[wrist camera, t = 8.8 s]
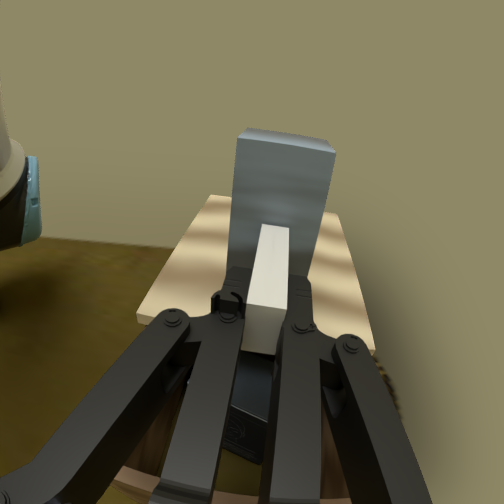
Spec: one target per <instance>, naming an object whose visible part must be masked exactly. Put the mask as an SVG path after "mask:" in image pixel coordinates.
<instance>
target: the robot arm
mask: <svg viewBox="0 0 504 504" xmlns="http://www.w3.org/2000/svg"><path fill="white" fill-rule="evenodd" d="M41 232H42V221H41V208H40V193H39V168H38V158H37V157H35V156H27V157H26V158H25V154H24V151H23V148H22V146H21V145H20V144H19V143H18V142H16V141H15V140H12V139H9V134H8V129H7V124H6V118H5V111H4V105H3V97H2V89H1V79H0V251H3V250H7V249H10V248H14V247H21V246H22V245H23V244H26V243H29V242H32V241H34V240H36V239H38V238H39V236H40V235H41ZM288 257H289V228H286V227H279V226H273V225H267V224H262V227H261V232H260V237H259V242H258V247H257V252H256V257H255V262H254V267H253V269H250V268H243V267H237V266H233V267H231V268H230V269H229V270H228V271H227V273H226V276H225V280H224V282H223V286H222V288H221V290H219V291H217V292H215V293H214V294H213V295H212V297H211V312H210V313H209V314H207V315H204V316H199V317H189V316H188V314H187V313H186V312H185V311H183V310H181V309H177V308H168V309H165V310H163V311H161V312H160V313H159V314H158V315H157V316H156V317H155V318H154V319H153V320H152V321H151V322H150V323H149V325H148V326H147V327H146V328H145V329H144V330H143V331H142V332H141V333H140V335H139V336H138V337H137V338H136V339H135V340H134V341H133V342H132V344H131V345H130V346H129V347H128V348H127V349H126V350H125V351H124V353H123V354H122V355H121V356H120V357H119V358H118V359H117V360H116V362H115V363H114V364H113V365H112V366H111V367H110V368H109V370H108V371H107V372H106V373H105V374H104V375H103V376H102V378H101V379H100V380H99V381H98V382H97V383H96V385H95V386H94V387H93V388H92V389H91V390H90V392H89V393H88V394H87V395H86V396H85V397H84V399H83V400H82V401H81V402H80V403H79V404H78V406H77V407H76V408H75V409H74V410H73V412H72V413H71V414H70V415H69V416H68V418H67V419H66V420H65V421H64V422H63V423H62V425H61V426H60V427H59V428H58V430H57V431H56V432H55V433H54V434H53V436H52V437H51V438H50V439H49V440H48V442H47V443H46V444H45V445H44V447H43V448H42V449H41V450H40V452H39V453H38V454H37V455H36V456H35V458H34V459H33V460H32V461H31V462H30V463H28V464H27V465H25V466H23V467H21V468H19V469H17V470H15V471H13V472H11V473H9V474H7V475H5V476H3V477H1V478H0V504H96V503H97V501H98V500H99V499H100V498H101V496H102V495H103V494H104V492H105V491H106V489H107V488H108V487H109V485H110V484H111V482H112V481H113V479H114V478H115V477H116V475H117V474H118V472H119V471H120V469H121V468H122V467H123V465H124V464H125V462H126V461H127V459H128V458H129V457H130V455H131V454H132V452H133V451H134V449H135V448H136V446H137V445H138V444H139V442H140V441H141V439H142V438H143V436H144V435H145V433H146V432H147V431H148V429H149V428H150V426H151V425H152V423H153V422H154V420H155V419H156V417H157V416H158V415H159V413H160V412H161V410H162V409H163V407H164V406H165V404H166V403H167V401H168V400H169V398H170V397H171V395H172V394H173V392H174V391H175V390H176V388H177V387H178V385H179V384H180V382H181V381H182V379H183V378H184V376H185V375H186V373H187V372H188V370H189V369H190V367H191V365H194V367H193V370H192V374H191V377H190V380H189V383H188V387H187V390H186V393H185V396H184V400H183V403H182V406H181V409H180V413H179V416H178V419H177V423H176V426H175V429H174V433H173V436H172V440H171V443H170V446H169V450H168V453H167V457H166V460H165V464H164V467H163V471H162V474H161V478H160V481H159V483H158V485H157V486H156V487H155V488H154V490H153V492H152V494H151V496H150V499H149V503H148V504H211V503H212V498H213V493H214V488H215V483H216V478H217V473H218V468H219V463H220V458H221V453H222V447H223V442H224V437H225V432H226V427H227V422H228V416H229V411H230V406H231V401H232V395H233V390H234V385H235V380H236V374H237V369H238V364H239V358H240V351H241V350H244V351H251V352H257V353H264V354H271V355H275V353H276V357H275V361H274V365H273V368H272V372H271V375H272V385H271V395H270V405H269V414H268V423H267V432H266V441H265V450H264V458H263V466H262V474H261V482H260V489H259V497H258V504H320V478H321V399H322V403H323V406H324V409H325V413H326V416H327V419H328V423H329V426H330V429H331V433H332V436H333V440H334V443H335V446H336V450H337V453H338V457H339V460H340V464H341V467H342V471H343V474H344V478H345V481H346V485H347V489H348V492H349V496H350V499H351V503H352V504H432V501H431V498H430V495H429V492H428V489H427V486H426V484H425V481H424V478H423V475H422V473H421V470H420V467H419V465H418V462H417V459H416V457H415V454H414V452H413V449H412V447H411V444H410V442H409V439H408V437H407V434H406V432H405V429H404V427H403V425H402V422H401V420H400V418H399V415H398V413H397V411H396V408H395V406H394V404H393V401H392V399H391V397H390V395H389V392H388V390H387V388H386V386H385V383H384V381H383V379H382V377H381V375H380V372H379V370H378V368H377V366H376V364H375V362H374V360H373V358H372V355H371V353H370V351H369V349H368V347H367V345H366V343H365V342H364V341H363V340H362V339H361V338H360V337H358V336H356V335H353V334H343V335H340V336H339V337H338V338H337V339H336V338H333V337H330V336H328V335H326V334H324V333H322V332H321V331H319V330H318V328H317V325H316V324H315V323H314V320H313V304H312V293H311V292H312V289H311V283H310V281H309V280H308V278H307V277H306V276H300V275H293V274H288Z"/></svg>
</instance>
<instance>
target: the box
mask: <svg viewBox="0 0 504 504" xmlns="http://www.w3.org/2000/svg"><path fill="white" fill-rule="evenodd" d="M273 365H274V362H271V361H269V360H267V359H264V358H262V357H260V356H258V355H255V354H253V353H251V352H249V351H244V350H241V351H240V358H239V364H238V369H237V374H236V380H235V385H234V390H233V395H232V401H231V406H230V411H229V416H228V422H227V427H226V432H225V437H224V442H223V448H225V449H227V450H229V451H230V452H232V453H235V454H237V455H239V456H241V457H243V458H245V459H247V460H249V461H251V462H254V463H256V464H259V465H260V464H261V463H262V461H263V458H264V450H265V441H266V432H267V423H268V414H269V405H270V395H271V385H272V375H271V372H272V368H273ZM189 380H190V379H189ZM189 380H188V381H187V386H188V383H189Z"/></svg>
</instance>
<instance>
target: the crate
mask: <svg viewBox="0 0 504 504" xmlns="http://www.w3.org/2000/svg"><path fill="white" fill-rule="evenodd" d="M147 326H148V325H146V326H145V328H146V327H147ZM145 328H144V329H145ZM249 352H251V351H249ZM251 353H253V354H255V355H258V356H260V357H262V358H264V359H267V360H269V361H271V362H274V361H275V357H276V353H275V355H271V354H264V353H257V352H251ZM188 371H189V370H188ZM187 374H188V372H187V373H186V375H185V376H184V378H183V379H182V381H181V382H180V384H179V385H178V387H177V388H176V390H175V391H174V392H173V394H172V395H171V397H170V398H169V400H168V401H167V403H166V404H165V406H164V407H163V409H162V410H161V412H160V413H159V415H158V416H157V417H156V419H155V420H154V422H153V423H152V425H151V426H150V428H149V429H148V431H147V432H146V433H145V435H144V436H143V438H142V439H141V441H140V442H139V444H138V445H137V446H136V448H135V449H134V451H133V452H132V454H131V455H130V457H129V458H128V459H127V461H126V462H125V464H124V465H123V467H122V468H121V469H120V471H119V472H118V474H117V475H116V477H115V478H114V479H113V481H112V482H111V484H110V485H111V486H112V487H114V488H115V489H117V490H118V491H120V492H121V493H123V494H125V495H126V496H128V497H130V498H131V499H133V500H135V501H136V502H139V503H142V504H148V503H149V499H150V496H151V494H152V492H153V490H154V488H155V487H156V486H157V485H158V483H159V481H160V478H159V477H156V474H157V471H158V467H159V464H160V460H161V457H162V454H163V450H164V447H165V444H166V441H167V437H168V434H169V431H170V427H171V424H172V421H173V418H174V415H175V411H176V408H177V405H178V402H179V399H180V396H181V392H182V389H183V386H184V383H185V380H186V377H187ZM211 504H258V497H256V496H247V495H239V494H232V493H226V492H220V491H214V493H213V498H212V503H211ZM320 504H352V503H351V499H350V496H349V492H348V489H347V485H346V481H345V478H344V474H343V471H342V467H341V464H340V460H339V457H338V453H337V450H336V446H335V443H334V440H333V436H332V433H331V429H330V426H329V423H328V419H327V416H326V413H325V409H324V406H323V403H322V399H321V478H320Z"/></svg>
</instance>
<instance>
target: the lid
mask: <svg viewBox="0 0 504 504" xmlns="http://www.w3.org/2000/svg"><path fill="white" fill-rule="evenodd" d="M335 157H336V152H335V151H334V149H333V148H332V147H331V145H330V144H329V143H328V141H327V140H324V139H318V138H313V137H307V136H302V135H296V134H289V133H283V132H276V131H269V130H261V129H253V128H247V129H246V130H245V131H244V132H243V133H242V134H241V135H240V136H239V137H238V138H237V146H236V157H235V167H234V179H233V190H232V197H225V196H218V195H210V197H209V198H208V200H207V201H206V203H205V204H204V206H203V207H202V209H201V210H200V212H199V213H198V215H197V216H196V217H195V219H194V220H193V222H192V224H191V225H190V227H189V228H188V230H187V231H186V233H185V234H184V236H183V237H182V239H181V240H180V242H179V243H178V245H177V247H176V248H175V250H174V251H173V253H172V254H171V256H170V258H169V259H168V261H167V262H166V264H165V266H164V267H163V269H162V270H161V272H160V274H159V275H158V277H157V279H156V280H155V282H154V284H153V285H152V287H151V288H150V290H149V292H148V294H147V295H146V297H145V299H144V300H143V302H142V304H141V305H140V307H139V309H138V311H137V312H136V315H137V319H138V323H142V324H146V325H149V323H150V322H151V321H152V320H153V319H154V318H155V317H156V316H157V315H158V314H159V313H160V312H161V311H163V310H165V309H168V308H177V309H181V310H183V311H185V312H186V313H187V314H188V316H189V317H199V316H204V315H207V314H209V313H210V312H211V297H212V295H213V294H214V293H215V292H217V291H219V290H221V288H222V286H223V282H224V280H225V276H226V273H227V271H228V270H229V269H230V268H231V267H233V266H237V267H243V268H250V269H253V267H254V262H255V257H256V252H257V247H258V242H259V237H260V232H261V227H262V224H267V225H273V226H279V227H286V228H289V257H288V274H293V275H300V276H306V277H307V278H308V280H309V281H310V283H311V289H312V292H311V293H312V304H313V320H314V323H315V324H316V325H317V328H318V330H319V331H321V332H322V333H324V334H326V335H328V336H330V337H333V338H336V339H337V338H338V337H339V336H340V335H343V334H353V335H356V336H358V337H360V338H361V339H362V340H363V341H364V342H365V343H366V345H367V347H368V349H369V351H370V353H371V355H373V353H374V352H375V345H374V341H373V337H372V332H371V328H370V324H369V320H368V316H367V312H366V308H365V305H364V301H363V297H362V293H361V290H360V286H359V282H358V279H357V276H356V272H355V269H354V265H353V262H352V259H351V255H350V252H349V249H348V246H347V242H346V240H345V237H344V234H343V230H342V227H341V224H340V221H339V218H338V215H337V214H334V213H328V212H324V208H325V204H326V199H327V195H328V190H329V186H330V181H331V176H332V172H333V167H334V162H335Z"/></svg>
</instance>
